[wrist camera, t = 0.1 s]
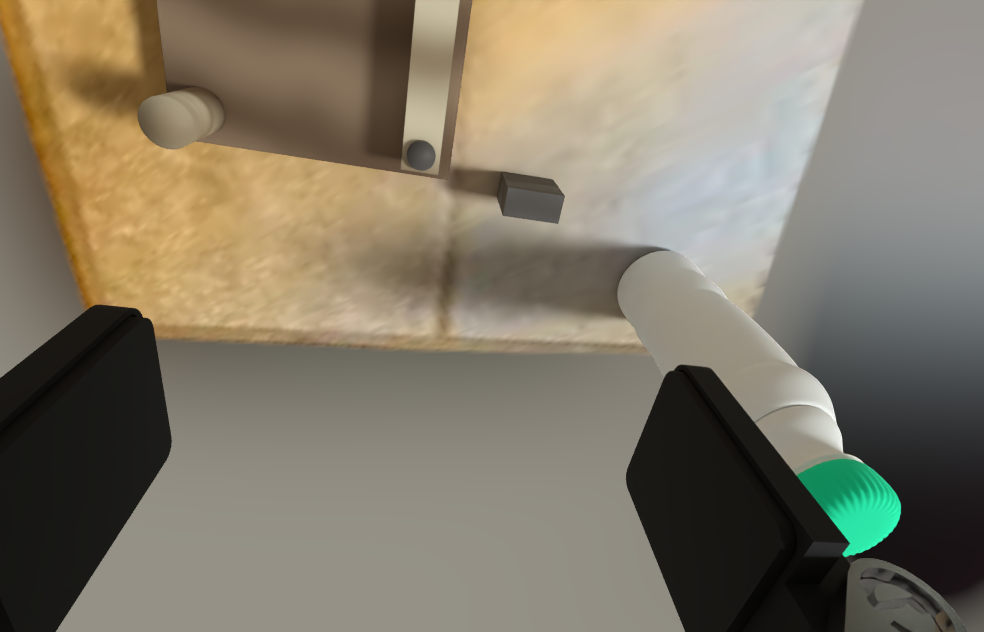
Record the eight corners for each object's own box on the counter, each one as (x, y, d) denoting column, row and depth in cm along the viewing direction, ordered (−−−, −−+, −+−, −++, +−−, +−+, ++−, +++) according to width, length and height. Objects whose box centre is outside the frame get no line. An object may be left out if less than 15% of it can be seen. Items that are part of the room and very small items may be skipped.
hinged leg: (438, 166, 35) (438, 176, 33) (403, 160, 35) (400, 170, 32) (463, -42, 30) (465, -49, 27) (422, -52, 29) (420, -59, 27)
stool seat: (152, -224, 27) (60, -304, 20) (618, -105, 31) (665, -141, 24) (191, 151, 36) (135, 178, 30) (547, 205, 40) (567, 239, 34)
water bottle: (610, 322, 46) (759, 586, 24) (620, 248, 42) (805, 479, 21) (686, 319, 46) (899, 575, 25) (702, 246, 43) (966, 469, 21)
